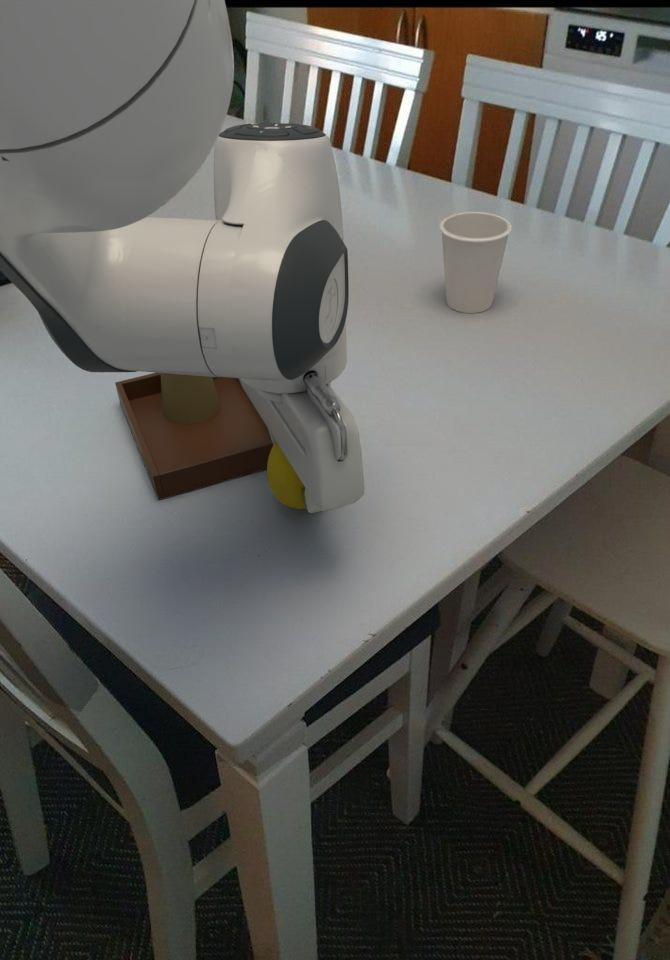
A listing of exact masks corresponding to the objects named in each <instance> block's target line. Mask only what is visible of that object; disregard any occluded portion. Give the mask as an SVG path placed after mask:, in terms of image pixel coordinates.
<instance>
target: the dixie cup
mask: <svg viewBox="0 0 670 960" xmlns="http://www.w3.org/2000/svg"><path fill="white" fill-rule="evenodd" d="M512 228H513V227H512V224H511V223H510V221H508V219H506V218H504V217H502V216H500V215H498V214H495V213H491V212H484V211H463V212H458V213H457V212H456V213H453V214H450V215H449V216H446V217H445V218H444V219H442V220H441V221H440V223H439V231H440V232H441V242H442V255H443V269H444V271H443V272H444V285H445V286H444V287H445V297H446V298H445V299H446V300H445V301H446V305H447V306H448V307H449V308H450V309H452V310H453V311H456V312H459V313H463V314H478V313H483V312H485V311H487V310H489V309H490V308H491V307H493V303H494V299H495V294H496V290H497V286H498V285H497V284H498V282H499V277H500V273H501V269H502V266H503V265H502V264H503V259H504V256H505V251H506V248H507V243H508V239H509V235H510V234H511V232H512Z"/></svg>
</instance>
